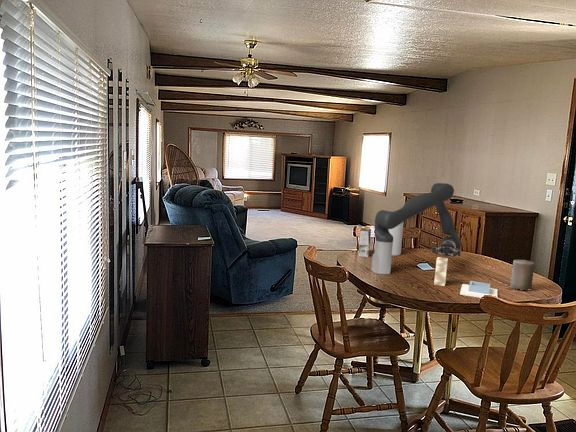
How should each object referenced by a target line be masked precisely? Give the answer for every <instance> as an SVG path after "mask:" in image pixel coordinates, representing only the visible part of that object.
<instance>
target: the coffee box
mask: <svg viewBox="0 0 576 432" xmlns="http://www.w3.org/2000/svg"><path fill="white" fill-rule="evenodd" d="M371 235H372V229H371V228H360V231H359V244H358V257H363V258H369V255H370V248H371V247H370V246H371V238H372V237H371Z"/></svg>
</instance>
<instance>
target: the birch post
mask: <svg viewBox="0 0 576 432" xmlns="http://www.w3.org/2000/svg"><path fill="white" fill-rule="evenodd" d="M435 262H436V263H435V271H434V273H435V274H434V280H433V281H434V282H433V285H434V286H442V287H445V286H446V282H447V271H448V263H449V258H448V257H439V256H438V257H436V261H435Z"/></svg>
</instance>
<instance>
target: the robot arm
mask: <svg viewBox="0 0 576 432" xmlns="http://www.w3.org/2000/svg"><path fill="white" fill-rule="evenodd" d="M454 194H455V189H454V187H453V185H452V184H451V183H450V184H449V183H445V182H444V183H441V182H436V183H434V184H433V185H432V186H431V189H430V192H427V193H422V194H417V195H416V196H413V197H411V198H409V199H407V200H406V201H405V203H404V205H403V206H402V207H401V208H399V209H397V210H394V211H389V210H385V209H384V210H383V209H382V210H379V211H378V212H376V215H375V216H374V217H375V218H374V238H375V240H374V241H375V242H374V243H375V244H374V253H372V261H371V272H373V273H374V274H378V275H390V274H391V270H392V269H391V268H392V258H393V257H392V248H393V236H392V235H391V234H390V232H389V230H388V229H393V228H395V227H397V226H398V225H399V224H401V223H402V222H405V221H407V220H409V219H411V218H413V217H414V216H417V215H419V214H421V213H423V212H425V211H427V210H428V209H430V208H432V207H434V206H435V209H436V211H437V215H438V217H439V220H440V226H441V227H440V228H441V232H442V234H443V235H446V237H445V236H444V237H443V238H441V241H440V243H441V245H440V246H439V247H437V246H433V247H432V251H431V253H432V254H435V255H438V254H439V255H442V256H445V257H451V256H452V257H453V258H455V257H456V256H458V257H461V252H462V251H461V250H462V249H460V247H461V243H462V242H461V240H460V238H459V235H458V234H457V231H456V229H455V223H454V219H453V216H452V213H450V211H449V209H448V208H447V206H446V204H445V201H448V200H450V199H451V198H452V197H453V195H454ZM447 235H448V236H447Z"/></svg>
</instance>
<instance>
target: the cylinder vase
mask: <svg viewBox="0 0 576 432" xmlns="http://www.w3.org/2000/svg"><path fill="white" fill-rule="evenodd" d="M404 222H405V221H404ZM404 222H402V223H401V224H399V225H398V226H397V227H395V228H393V229H388V230H389V232H390V234H391V235H392V236H393V248H392V256H394V257H396V256H397V257H398V256H401V254H402V253H401V252H402V242H403V232H404Z"/></svg>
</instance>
